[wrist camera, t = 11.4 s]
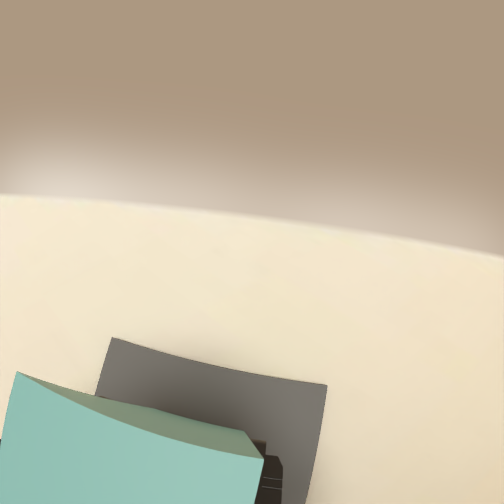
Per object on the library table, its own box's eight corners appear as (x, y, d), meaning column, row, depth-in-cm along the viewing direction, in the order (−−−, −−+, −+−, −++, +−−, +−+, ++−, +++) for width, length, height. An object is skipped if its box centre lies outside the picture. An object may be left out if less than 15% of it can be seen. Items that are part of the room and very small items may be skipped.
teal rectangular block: (244, 431, 14) (264, 459, 4) (226, 510, 12) (211, 643, 2) (154, 408, 15) (16, 371, 4) (136, 486, 12) (-5, 549, 2)
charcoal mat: (325, 386, 18) (327, 385, 17) (289, 552, 12) (290, 555, 11) (114, 339, 19) (112, 337, 18) (76, 495, 13) (73, 496, 12)
